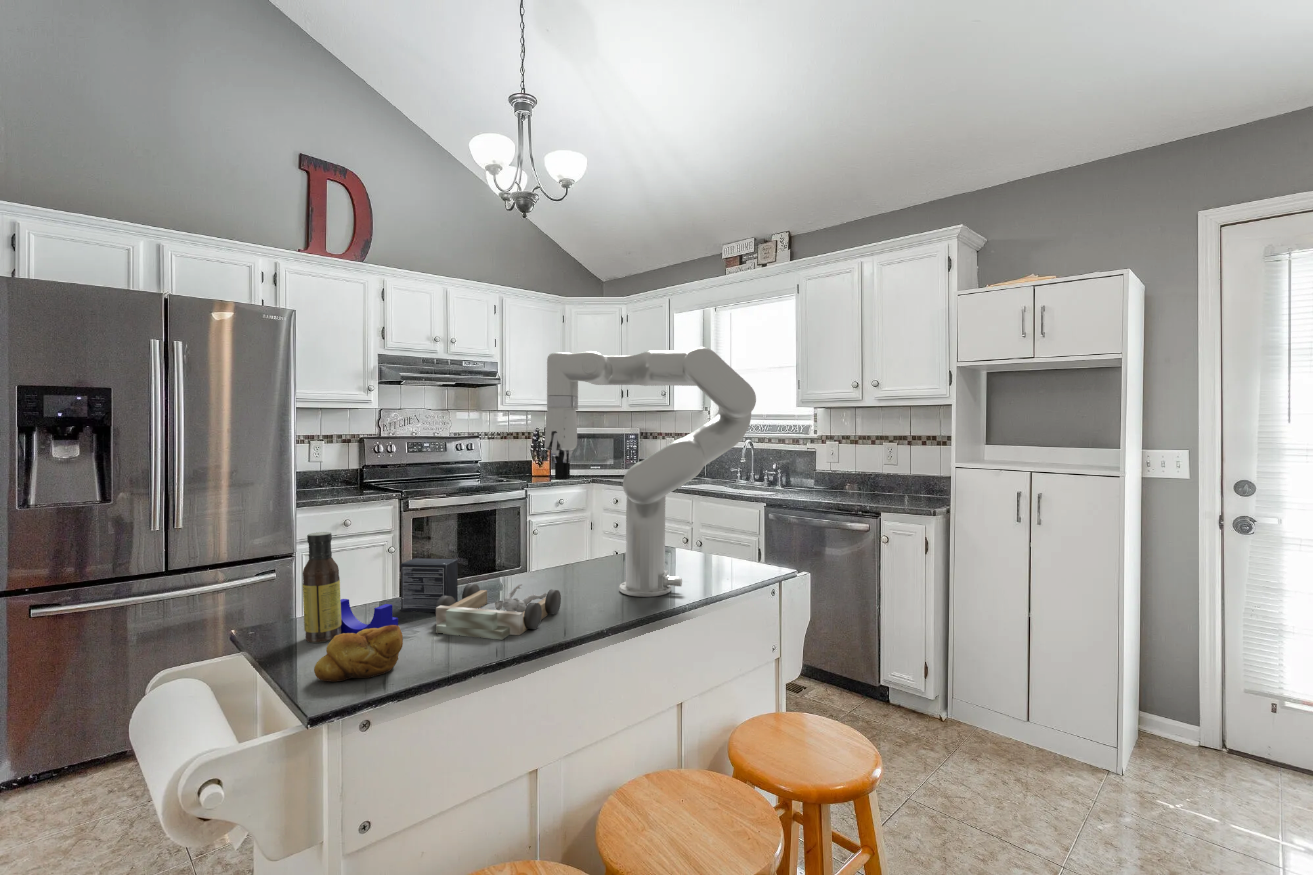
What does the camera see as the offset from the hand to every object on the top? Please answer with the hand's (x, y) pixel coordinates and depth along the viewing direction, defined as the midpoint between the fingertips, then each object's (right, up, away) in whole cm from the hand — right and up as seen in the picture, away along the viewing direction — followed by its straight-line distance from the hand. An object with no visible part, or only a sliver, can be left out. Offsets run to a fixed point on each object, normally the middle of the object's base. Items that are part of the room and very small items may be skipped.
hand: (562, 478), depth 154 cm
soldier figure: (-6, -28, -18) cm, 34 cm away
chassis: (-10, -28, -24) cm, 38 cm away
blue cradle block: (-34, -28, -32) cm, 54 cm away
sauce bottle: (-40, -28, -35) cm, 60 cm away
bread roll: (-26, -29, -51) cm, 64 cm away
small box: (-27, -28, -15) cm, 41 cm away
